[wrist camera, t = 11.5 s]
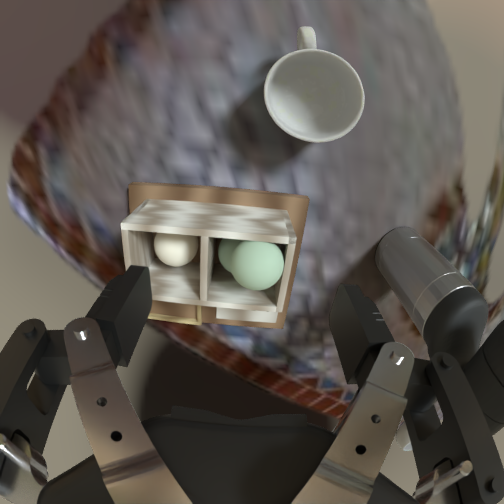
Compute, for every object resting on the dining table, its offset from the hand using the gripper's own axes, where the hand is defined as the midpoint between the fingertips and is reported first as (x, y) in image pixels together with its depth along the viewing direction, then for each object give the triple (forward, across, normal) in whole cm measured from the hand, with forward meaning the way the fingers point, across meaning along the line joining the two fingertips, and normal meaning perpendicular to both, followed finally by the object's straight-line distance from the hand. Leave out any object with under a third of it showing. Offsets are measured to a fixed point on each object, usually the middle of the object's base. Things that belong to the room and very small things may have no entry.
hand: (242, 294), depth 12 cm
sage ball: (+20, 0, +10) cm, 22 cm away
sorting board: (+28, +4, +14) cm, 32 cm away
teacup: (+28, -6, -12) cm, 31 cm away
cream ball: (+27, +9, +10) cm, 30 cm away
